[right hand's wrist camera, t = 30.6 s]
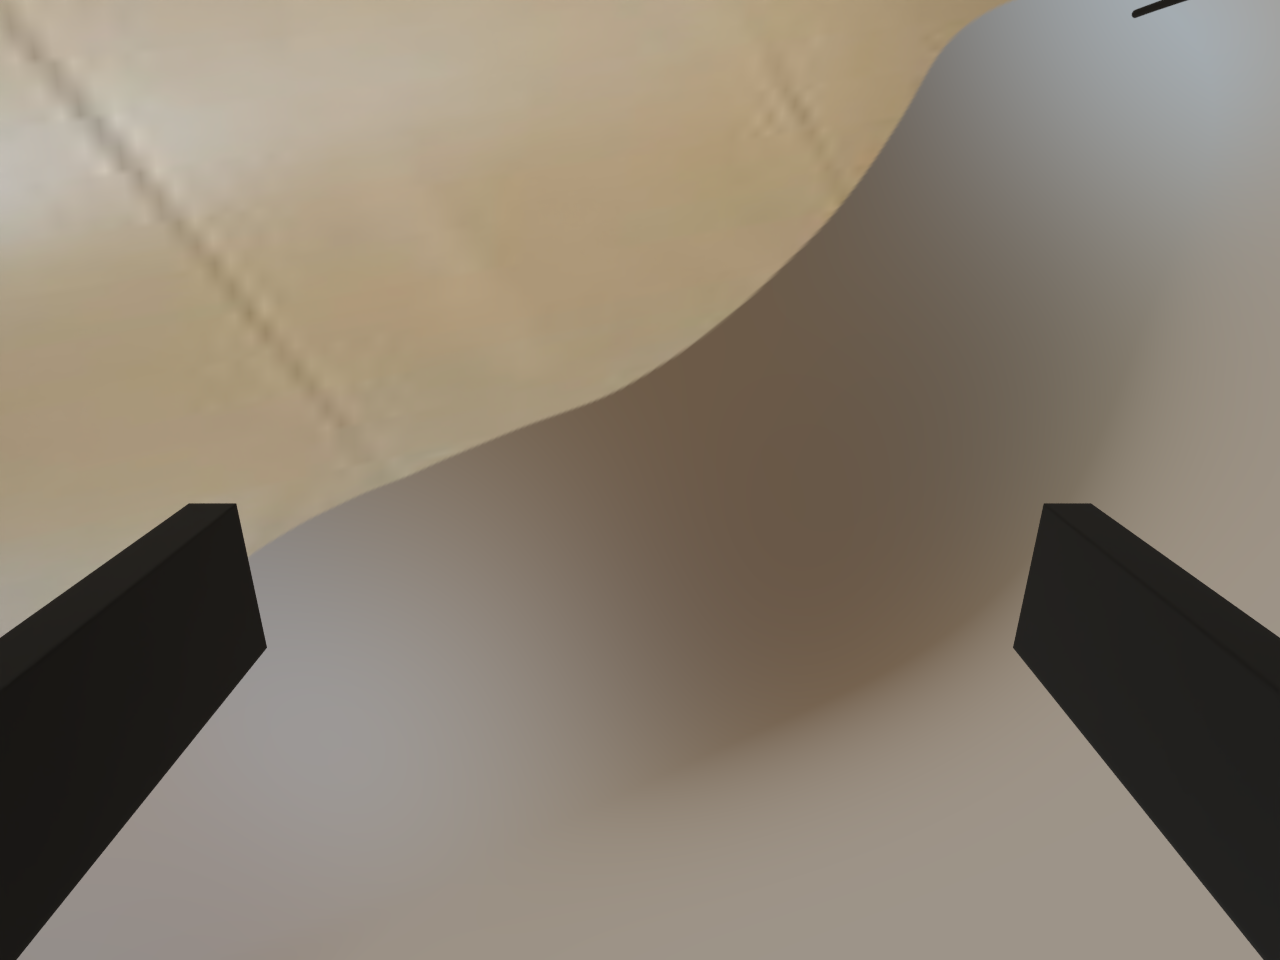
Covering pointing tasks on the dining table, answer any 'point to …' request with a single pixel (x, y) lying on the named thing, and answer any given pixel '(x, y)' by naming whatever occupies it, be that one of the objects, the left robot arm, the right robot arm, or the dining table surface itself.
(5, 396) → the dining table surface
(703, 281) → the dining table surface
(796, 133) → the dining table surface
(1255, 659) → the right robot arm
